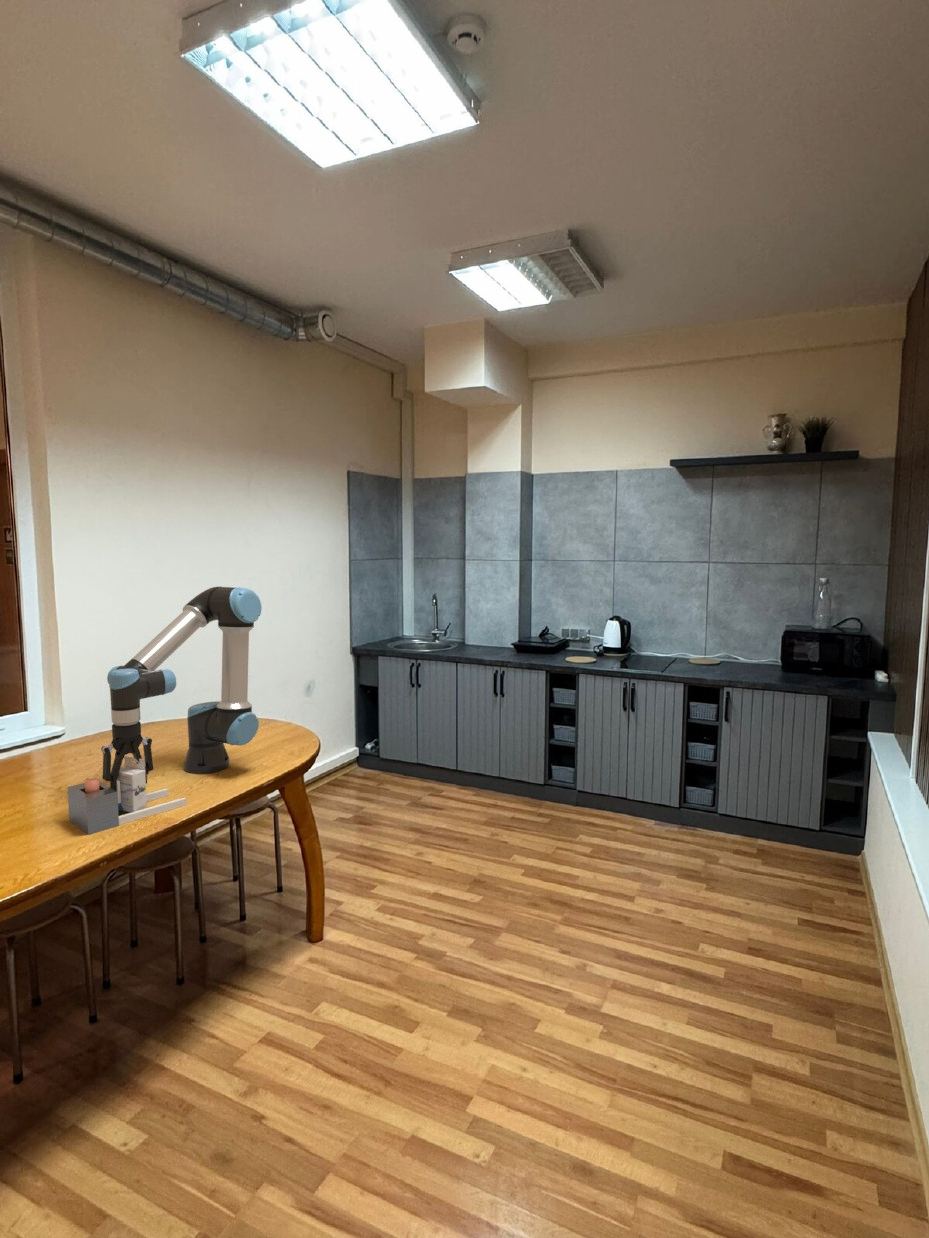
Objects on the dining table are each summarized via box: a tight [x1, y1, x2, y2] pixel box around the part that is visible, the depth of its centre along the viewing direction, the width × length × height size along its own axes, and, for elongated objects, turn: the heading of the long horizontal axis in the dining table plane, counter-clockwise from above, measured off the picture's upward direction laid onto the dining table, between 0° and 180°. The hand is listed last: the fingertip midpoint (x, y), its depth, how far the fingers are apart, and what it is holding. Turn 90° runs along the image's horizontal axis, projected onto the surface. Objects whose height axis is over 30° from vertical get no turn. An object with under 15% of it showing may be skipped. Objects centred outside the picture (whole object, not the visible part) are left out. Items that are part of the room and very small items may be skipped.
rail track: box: [118, 788, 188, 826], centre depth 200 cm, size 20×13×2 cm, turn 139°
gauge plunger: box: [84, 778, 100, 794], centre depth 189 cm, size 4×4×5 cm
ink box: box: [117, 755, 148, 813], centre depth 196 cm, size 8×5×15 cm, turn 68°
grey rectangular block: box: [67, 780, 120, 836], centre depth 189 cm, size 8×14×10 cm, turn 49°
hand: (129, 798), depth 197 cm, fingers closed on ink box, 6 cm apart
